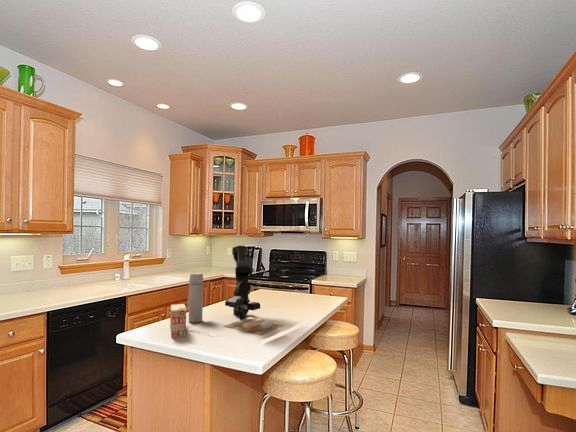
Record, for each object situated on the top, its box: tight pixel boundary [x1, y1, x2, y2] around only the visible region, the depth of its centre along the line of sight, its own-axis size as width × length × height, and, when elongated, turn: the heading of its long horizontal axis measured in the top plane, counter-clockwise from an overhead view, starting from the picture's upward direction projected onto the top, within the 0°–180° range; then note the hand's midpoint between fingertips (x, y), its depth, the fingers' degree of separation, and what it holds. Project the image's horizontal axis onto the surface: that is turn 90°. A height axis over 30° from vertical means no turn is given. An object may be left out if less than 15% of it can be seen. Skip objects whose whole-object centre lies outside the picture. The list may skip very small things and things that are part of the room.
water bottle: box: [186, 272, 204, 324], centre depth 180 cm, size 9×8×25 cm
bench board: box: [222, 321, 284, 336], centre depth 165 cm, size 24×18×2 cm
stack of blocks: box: [169, 303, 187, 339], centre depth 162 cm, size 21×6×12 cm, turn 21°
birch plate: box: [236, 316, 262, 329], centre depth 167 cm, size 7×10×2 cm
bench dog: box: [261, 319, 273, 331], centre depth 161 cm, size 2×7×4 cm, turn 147°
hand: (242, 321), depth 169 cm, fingers closed
